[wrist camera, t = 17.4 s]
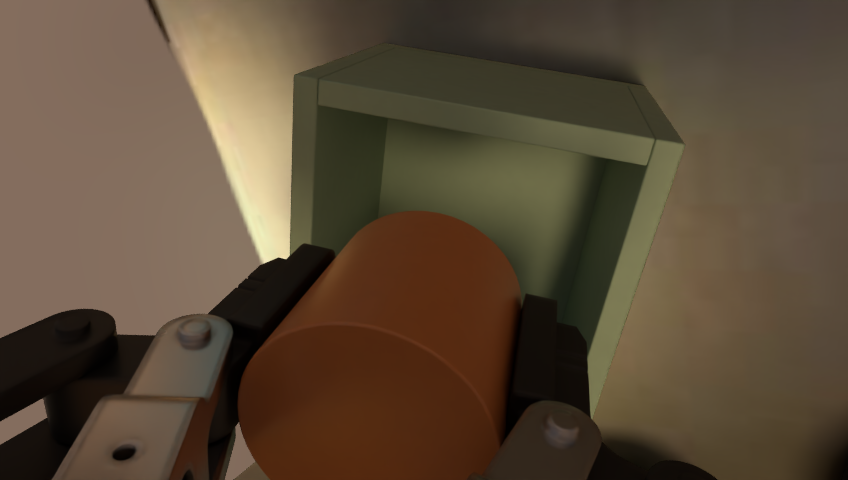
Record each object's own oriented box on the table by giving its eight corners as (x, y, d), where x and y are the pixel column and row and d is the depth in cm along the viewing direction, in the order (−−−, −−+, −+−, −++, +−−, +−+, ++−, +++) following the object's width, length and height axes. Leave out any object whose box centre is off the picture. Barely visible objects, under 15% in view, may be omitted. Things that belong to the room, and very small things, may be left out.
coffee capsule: (341, 191, 13) (232, 293, 9) (541, 233, 12) (528, 364, 8) (330, 352, 15) (237, 498, 11) (502, 396, 14) (475, 570, 10)
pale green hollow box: (382, 42, 28) (293, 74, 19) (645, 85, 26) (686, 143, 17) (358, 320, 36) (285, 439, 27) (562, 370, 34) (559, 517, 25)
